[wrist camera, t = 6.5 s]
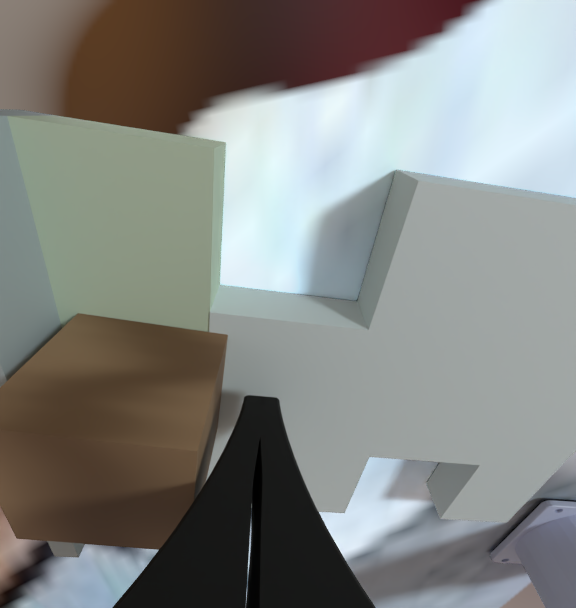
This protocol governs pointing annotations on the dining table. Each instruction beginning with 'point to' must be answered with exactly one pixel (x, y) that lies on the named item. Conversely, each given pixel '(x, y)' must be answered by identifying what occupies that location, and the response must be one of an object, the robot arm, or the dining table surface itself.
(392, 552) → the dining table surface
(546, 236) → the plate
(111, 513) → the walnut block
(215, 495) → the robot arm
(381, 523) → the dining table surface
